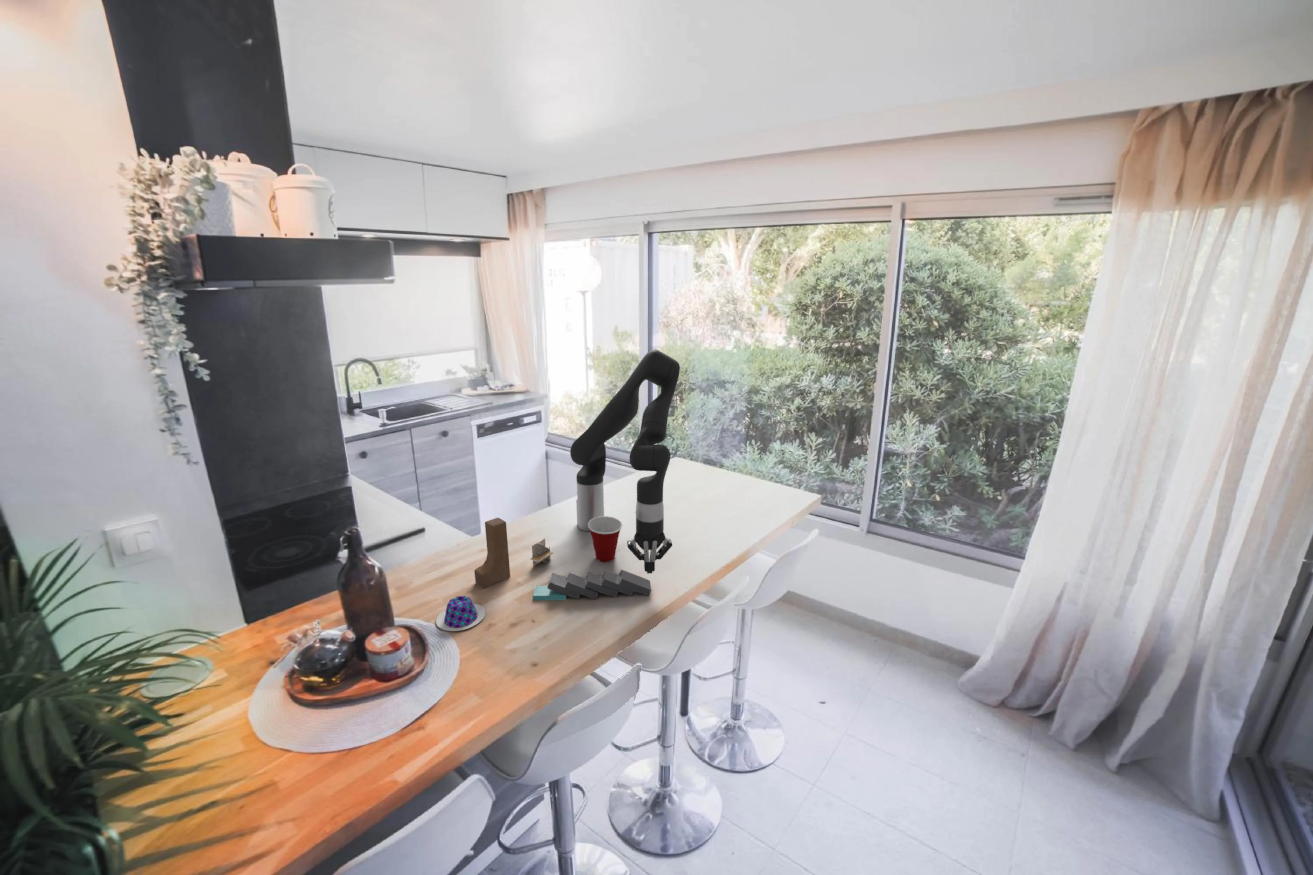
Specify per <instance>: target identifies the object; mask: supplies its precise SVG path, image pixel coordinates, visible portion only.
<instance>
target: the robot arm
mask: <svg viewBox="0 0 1313 875" xmlns="http://www.w3.org/2000/svg"><path fill="white" fill-rule="evenodd" d="M680 371H681V366H680V362H678V361H677V360H676V359H674V358H673V357H671V356H669V355H668V354H666V353H664V352H662V351H661V350H659V349H656V348H655V349H654V348H653V349H651V350H649V351H648V352H646V354H645V355H643V358H642V359H641V360H640V362H639V363H638V364H637V366H636V367H635V369H634V370H633V371H632V373H631V375H630V376H629V377H628V378H627V380H626V381H625V383H624V384H623V385H622V387H621V388H620V389H619V390H618V391H617V393H616V394H615V395H614V396H613V397H612V398H611V399H610V400H609V402H608V403H607V404H606V405H605V406H604V408H603V409H602V410H601V412H600V413H599V414H598V415H597V417H596V418H595V419H594V421H593V422H592V423H591V424H590V426H589V427H588V428H587V429H586V430H585V431H584V432H583V433H582V434H581V435H579V437H578V438H576V439H575V440H574V441H573V443H572V444H571V447H570V451H569V452H570V454H569V455H570V458H571V461H572V462H573V463H575V464H576V465H578V466H581V468H580V469H579V471H578V472H577V474H576V496H577V497H576V498H577V499H576V521H577V522H576V524H577V527H578V528H579V530H580V531H584V532H590V529H589V528H588V522H589V521H590V520H591V519H593V518H596V517H601V516H605V502H604V501H605V500H604V498H605V496H604V494H605V493H604V477H605V473H606V465H607V464H606V462H607V461H606V460H607V459H606V458H607V450H606V445H605V443H606V442H608V441H609V440H610V439H612V438H613V437H615V436H616V435H617V434H620V432H621V431H623V430H624V429H625V428H626V427H627V426H629V424H630V423H632V420H634V418H635V417H636V416H637V415H638V411H639V392H640V387H641V385H642V384H643V382H644V381H649V382H650V383H653V384H654V385H656V386H658V387H660V394H658V396H656V398H654V399H653V400H651V402H650V403H648V405H646V407H645V408H644V410H643V413H642V417H641V423H640V430H639V434H638V435H637V438H636V440H635V442H634V444H633V445H632V448H631V450H630V453H629V464H630V467H631V468H632V469H634V470H635V471H641V472H642V471H643V472H644V471H645V472H655V473H654V474H652V475H649V476H643V477H641V478H639V479H638V480H637V483H636V505H635V534H634V536H633V537H634V538H633V539H631V540H627V542H626V545H627V548H628V550H630V552H631V553H632V554H633V555H634V556H635V557H636V559H637V560H639V561H643V562H644V563H643V569H644V573H645V572H646V574H648V575H649V574H653V572H655V570H656V568H655V567H656V561H657V560H661V559H663V557H664V556H665V555H667V553H668V552H669V550H670V549H671V548H672V546H673V541H672V539H671V538H667V537H666V535H665V532H664V526H665V525H664V523H665V522H664V520H665V516H664V515H665V514H664V513H665V512H664V511H665V506H664V483H665V478H666V474H667V471H668V469H669V465H670V461H671V451H670V449H669V447H667V446H666V445H664V444H660V443H662V442H664V441H665V439H666V435H667V427H668V417H669V412H670V408H671V405H672V401H673V398H674V394H675V392H676V387H677V384H678V381H679V377H680ZM637 545H638V547H640V549H641V550H643V552H642V551H641V550H640V549H639V548H638V547H637ZM657 549H658V550H657ZM649 551H650V552H649Z"/></svg>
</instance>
